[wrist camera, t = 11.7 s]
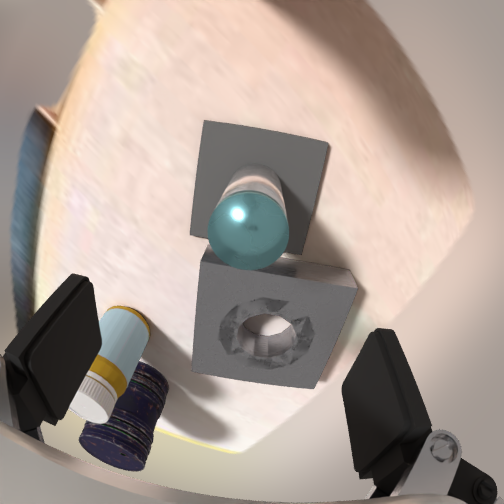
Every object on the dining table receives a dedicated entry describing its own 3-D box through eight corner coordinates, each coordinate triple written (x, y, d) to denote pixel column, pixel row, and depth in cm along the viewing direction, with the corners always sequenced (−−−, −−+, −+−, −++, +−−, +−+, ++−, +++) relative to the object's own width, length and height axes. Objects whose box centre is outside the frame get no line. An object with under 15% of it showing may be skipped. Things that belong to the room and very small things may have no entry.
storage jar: (141, 403, 47) (116, 471, 34) (102, 367, 44) (66, 436, 30) (181, 391, 44) (160, 471, 31) (139, 351, 41) (103, 433, 28)
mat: (205, 120, 28) (203, 120, 27) (327, 142, 28) (328, 142, 27) (191, 232, 33) (189, 234, 32) (301, 252, 33) (301, 254, 32)
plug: (234, 159, 28) (212, 187, 18) (285, 168, 29) (297, 202, 18) (226, 207, 31) (203, 262, 20) (275, 216, 31) (279, 276, 20)
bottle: (160, 325, 39) (121, 415, 25) (137, 350, 41) (100, 431, 27) (118, 293, 37) (62, 375, 23) (99, 321, 39) (50, 397, 26)
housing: (208, 244, 33) (200, 261, 30) (349, 269, 34) (358, 288, 30) (197, 350, 40) (191, 371, 36) (311, 367, 40) (313, 389, 37)
